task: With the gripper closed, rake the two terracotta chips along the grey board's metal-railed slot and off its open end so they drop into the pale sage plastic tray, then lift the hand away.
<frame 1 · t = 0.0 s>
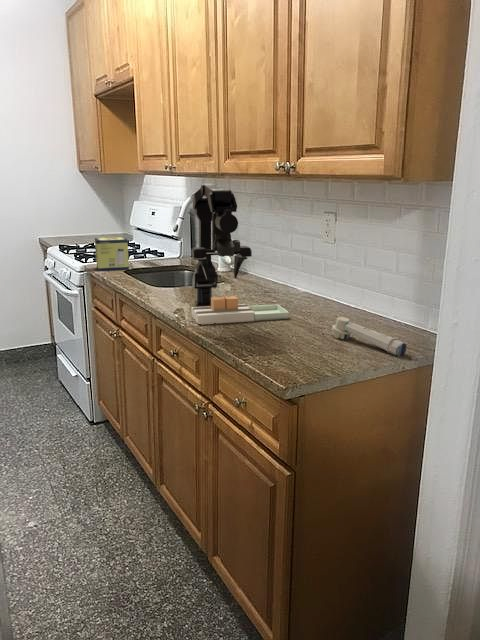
hand: (221, 278, 178), 15 cm above the worktop, fingers open, 9 cm apart
chip b: (230, 309, 187), point 3 cm above the worktop, touching slot board
chip a: (218, 309, 186), point 3 cm above the worktop, touching slot board
tray: (266, 315, 191), on the worktop
beige long cylindrical piece: (366, 346, 159), on the worktop
slot board: (222, 318, 187), on the worktop
protein box: (112, 269, 282), on the worktop
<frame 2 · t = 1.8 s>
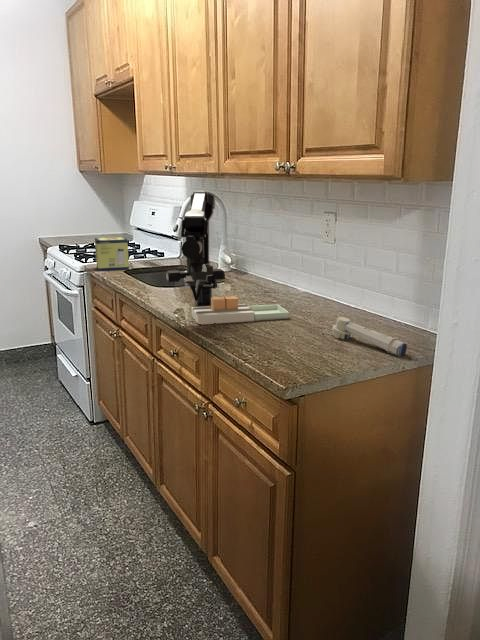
hand: (196, 300, 183), 7 cm above the worktop, fingers closed
nothing on the worktop moved.
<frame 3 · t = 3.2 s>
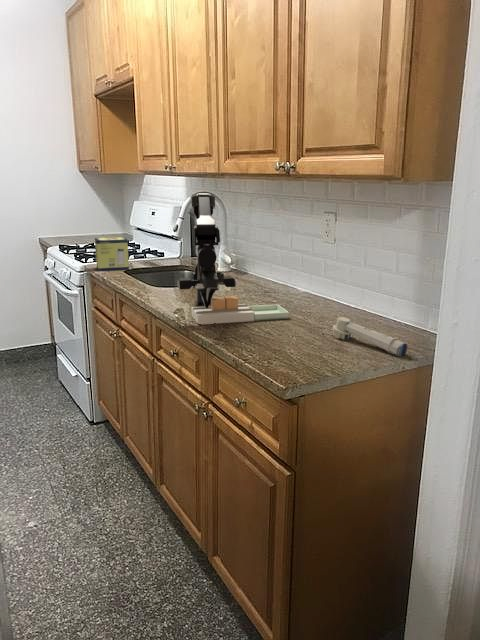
hand: (206, 307, 185), 4 cm above the worktop, fingers closed
chip a: (218, 309, 186), point 3 cm above the worktop, touching gripper, slot board
everything else where it was.
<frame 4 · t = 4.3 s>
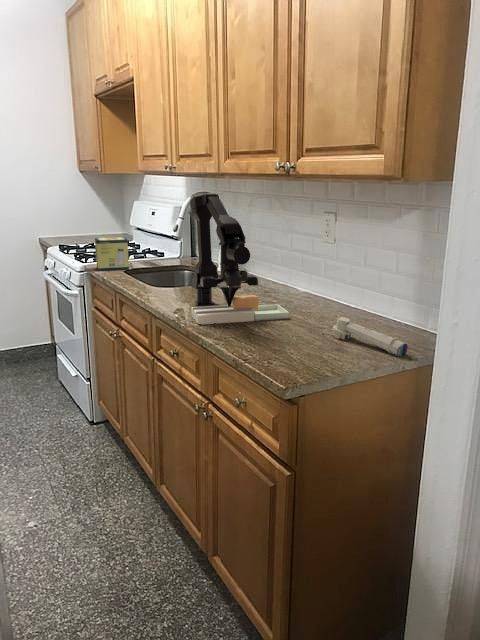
hand: (229, 306, 186), 4 cm above the worktop, fingers closed
chip b: (250, 308, 188), point 3 cm above the worktop
chip a: (239, 308, 188), point 3 cm above the worktop, touching gripper
everything else where it was.
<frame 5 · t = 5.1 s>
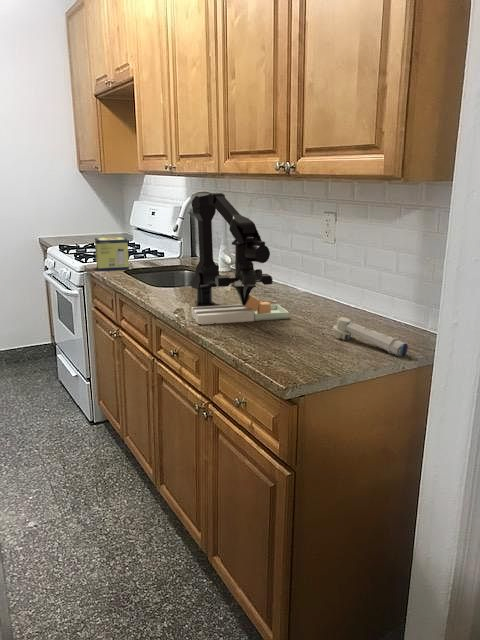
hand: (243, 305, 188), 4 cm above the worktop, fingers closed
chip b: (258, 309, 189), point 3 cm above the worktop, tilted 90°, touching tray
chip a: (249, 308, 189), point 3 cm above the worktop, tilted 27°, touching gripper, slot board
everything else where it was.
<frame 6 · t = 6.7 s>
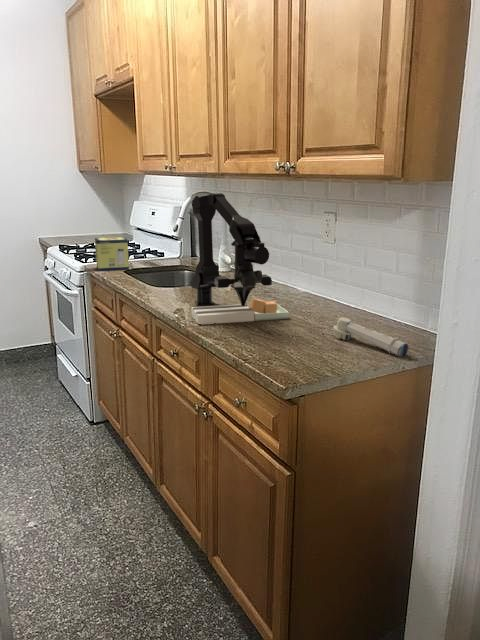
hand: (242, 305, 188), 4 cm above the worktop, fingers closed
chip b: (263, 308, 190), point 3 cm above the worktop, tilted 90°, touching chip a, tray
chip a: (255, 311, 189), point 2 cm above the worktop, tilted 17°, touching chip b, tray
everything else where it was.
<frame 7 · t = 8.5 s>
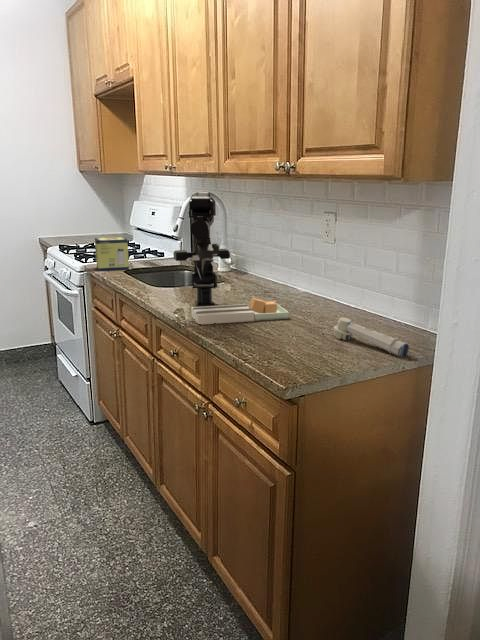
hand: (202, 279, 191), 12 cm above the worktop, fingers closed
nothing on the worktop moved.
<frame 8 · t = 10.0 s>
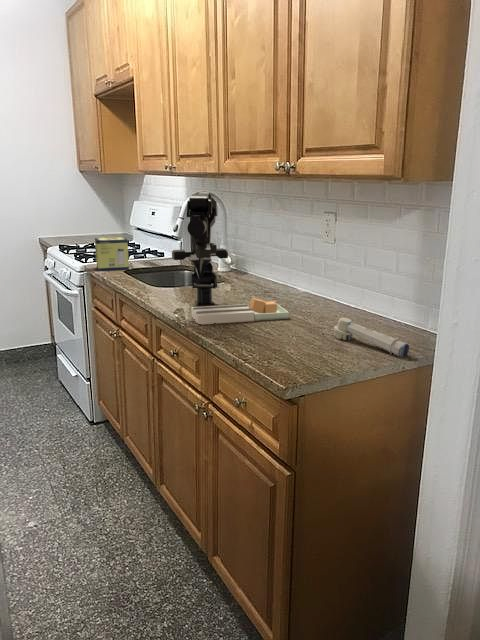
hand: (200, 278, 192), 12 cm above the worktop, fingers closed
nothing on the worktop moved.
at the end: chip a inside the target area on the tray (4.1 cm from its centre), point 1.8 cm above the tray's base; chip b inside the target area on the tray (1.2 cm from its centre), point 2.5 cm above the tray's base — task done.
